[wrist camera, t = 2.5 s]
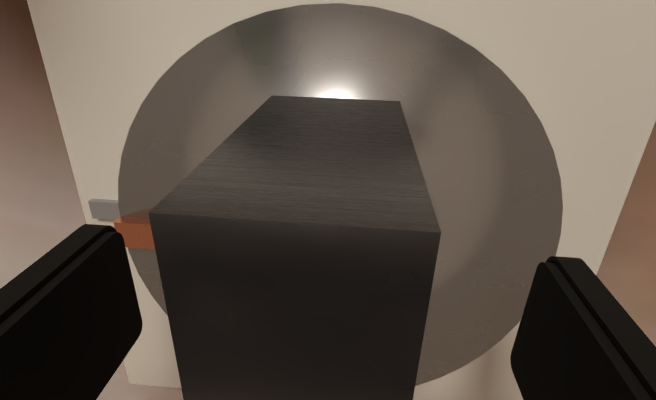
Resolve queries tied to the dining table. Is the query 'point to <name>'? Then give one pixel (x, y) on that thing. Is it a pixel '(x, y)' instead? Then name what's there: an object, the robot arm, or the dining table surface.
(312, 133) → the dial
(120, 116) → the dial base
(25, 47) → the dining table surface
